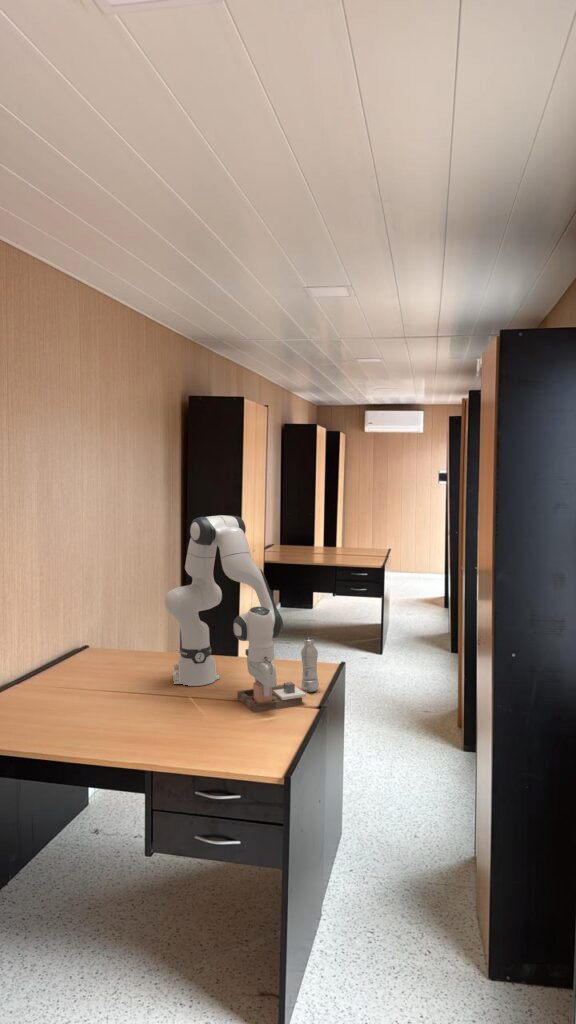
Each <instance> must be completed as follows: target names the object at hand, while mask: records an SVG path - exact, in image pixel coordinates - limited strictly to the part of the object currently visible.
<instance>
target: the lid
mask: <svg viewBox="0 0 576 1024" xmlns="http://www.w3.org/2000/svg"><path fill="white" fill-rule="evenodd" d="M283 685H284V689H279V690H273V694H275V695H276V696H277V697H279V698H280V699H281V700H287V699H293V698H300V697H301V698H306V697H307V694H306V693H307V692H305V691H303V690H301V689H300V688H298V687H297V686H296V685H295V683H293V682H292V681H289V682H283Z"/></svg>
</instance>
